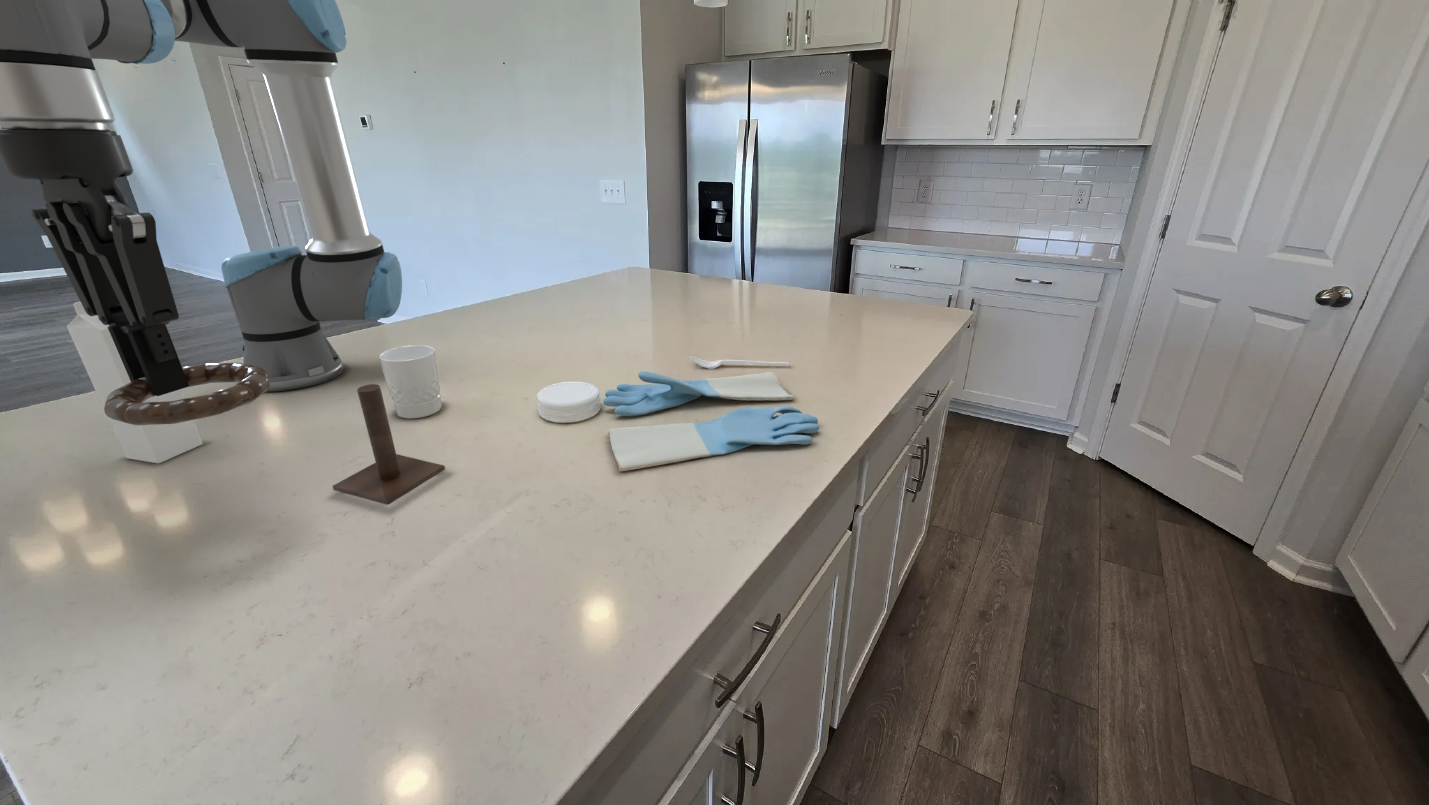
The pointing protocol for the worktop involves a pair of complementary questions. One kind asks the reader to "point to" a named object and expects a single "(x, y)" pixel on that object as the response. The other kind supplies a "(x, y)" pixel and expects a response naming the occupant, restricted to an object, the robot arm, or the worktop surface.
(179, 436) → the milk
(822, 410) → the worktop surface
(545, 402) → the white short cylinder
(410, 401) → the white cup
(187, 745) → the worktop surface
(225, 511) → the worktop surface
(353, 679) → the worktop surface
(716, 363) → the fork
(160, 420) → the ring
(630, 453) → the rubber gloves
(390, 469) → the stand
